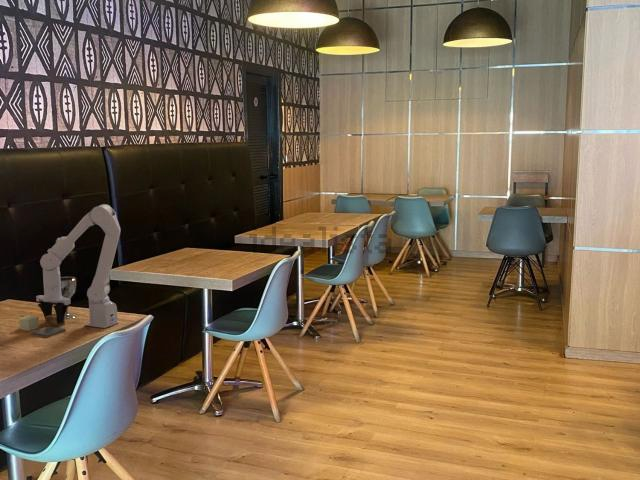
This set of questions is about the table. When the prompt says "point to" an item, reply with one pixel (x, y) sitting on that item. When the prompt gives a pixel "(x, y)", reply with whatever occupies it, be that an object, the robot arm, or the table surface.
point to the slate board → (47, 331)
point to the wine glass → (68, 291)
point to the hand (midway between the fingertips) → (54, 322)
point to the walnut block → (53, 321)
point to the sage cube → (29, 323)
